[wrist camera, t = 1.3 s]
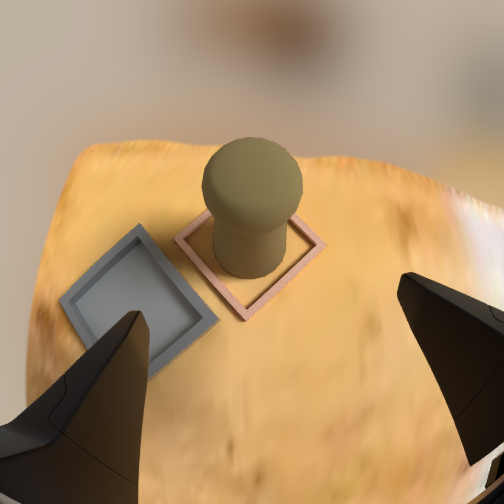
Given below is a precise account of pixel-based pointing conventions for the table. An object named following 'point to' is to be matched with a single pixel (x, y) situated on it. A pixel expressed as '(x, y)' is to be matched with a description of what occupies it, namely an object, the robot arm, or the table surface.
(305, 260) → the frame
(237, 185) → the cork
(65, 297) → the lower port socket
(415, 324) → the robot arm
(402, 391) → the table surface
